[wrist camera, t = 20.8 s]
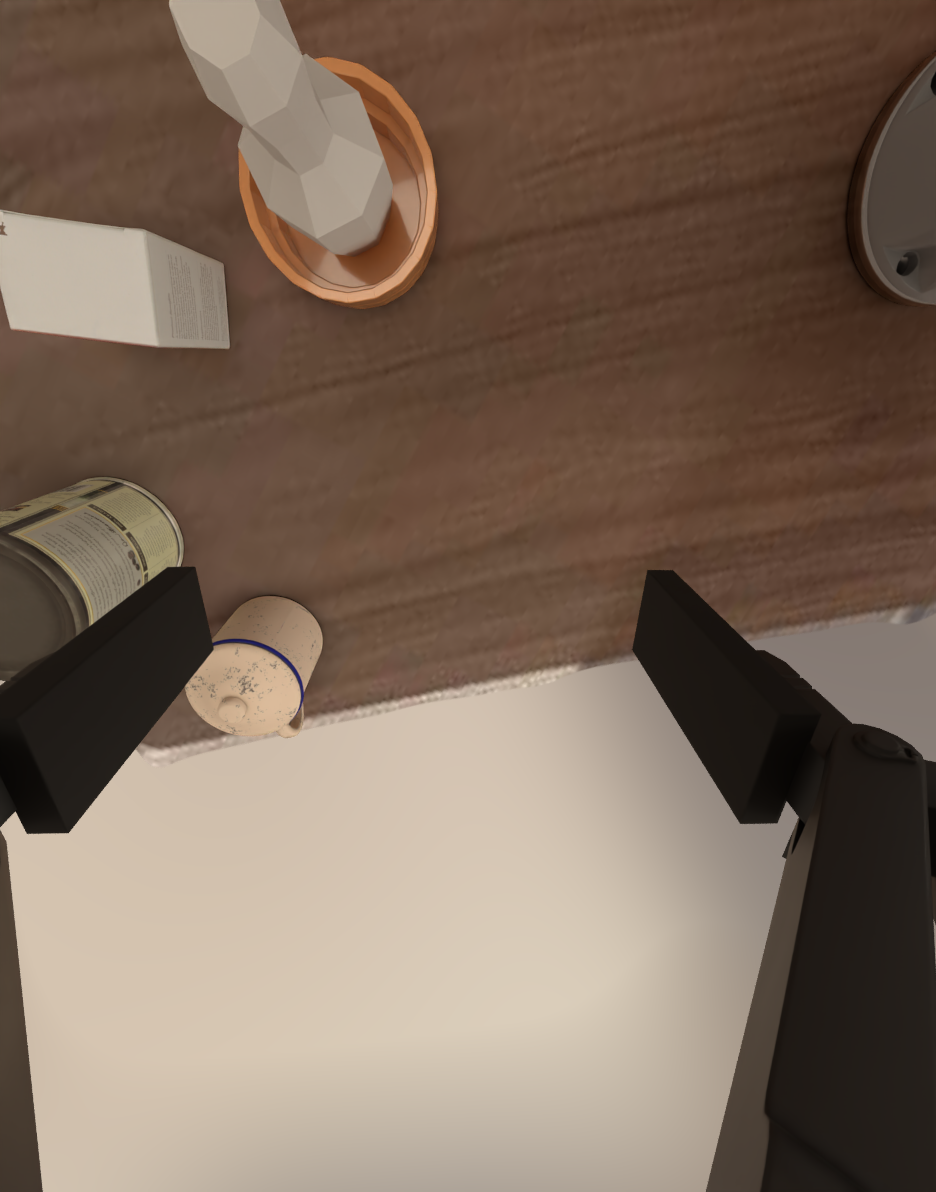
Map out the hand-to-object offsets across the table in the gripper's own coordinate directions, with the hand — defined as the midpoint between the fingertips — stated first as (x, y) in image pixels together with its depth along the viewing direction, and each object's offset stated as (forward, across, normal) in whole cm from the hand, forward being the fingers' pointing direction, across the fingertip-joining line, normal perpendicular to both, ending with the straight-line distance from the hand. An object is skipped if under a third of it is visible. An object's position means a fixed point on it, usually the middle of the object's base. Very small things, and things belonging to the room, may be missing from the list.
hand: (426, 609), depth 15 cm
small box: (+29, -19, +10) cm, 36 cm away
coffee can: (+29, -27, -8) cm, 40 cm away
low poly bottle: (+28, -6, +15) cm, 33 cm away
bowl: (+29, -6, +15) cm, 33 cm away
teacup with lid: (+29, -15, -19) cm, 38 cm away
